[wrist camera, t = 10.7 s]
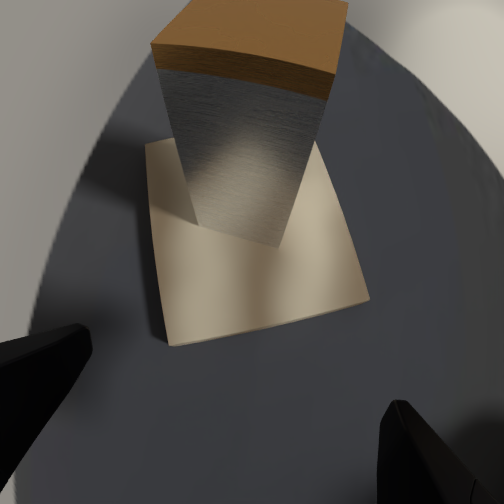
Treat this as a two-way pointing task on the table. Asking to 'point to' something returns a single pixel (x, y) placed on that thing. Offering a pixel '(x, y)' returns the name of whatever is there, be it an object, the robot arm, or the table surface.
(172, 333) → the birch board
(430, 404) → the table surface
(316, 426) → the table surface
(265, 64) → the aluminium block
